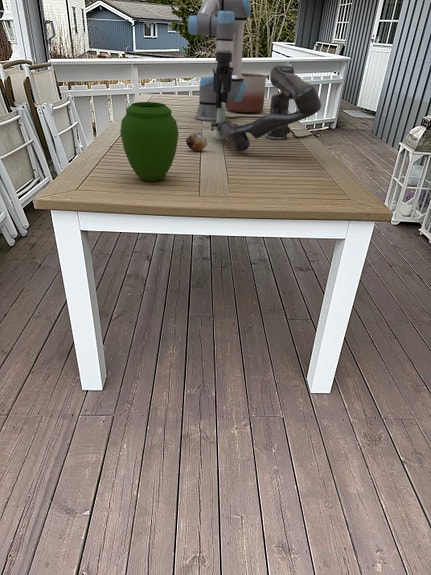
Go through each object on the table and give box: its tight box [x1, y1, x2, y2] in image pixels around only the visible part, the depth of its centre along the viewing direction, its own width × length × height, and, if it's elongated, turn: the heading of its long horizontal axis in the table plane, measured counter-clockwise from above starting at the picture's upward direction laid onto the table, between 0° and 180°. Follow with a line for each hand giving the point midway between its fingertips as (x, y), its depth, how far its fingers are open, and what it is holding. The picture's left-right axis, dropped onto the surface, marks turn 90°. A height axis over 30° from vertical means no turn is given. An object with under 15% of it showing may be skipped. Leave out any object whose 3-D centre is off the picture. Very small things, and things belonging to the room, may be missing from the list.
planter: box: [225, 72, 267, 114], centre depth 275 cm, size 25×25×22 cm
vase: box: [119, 101, 179, 182], centre depth 140 cm, size 20×20×24 cm
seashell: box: [185, 131, 208, 152], centre depth 181 cm, size 10×6×8 cm, turn 97°
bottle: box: [215, 108, 226, 140], centre depth 202 cm, size 4×4×16 cm
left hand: (221, 107), depth 198 cm, fingers closed on cap, 4 cm apart
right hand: (219, 123), depth 205 cm, fingers closed on bottle, 4 cm apart
